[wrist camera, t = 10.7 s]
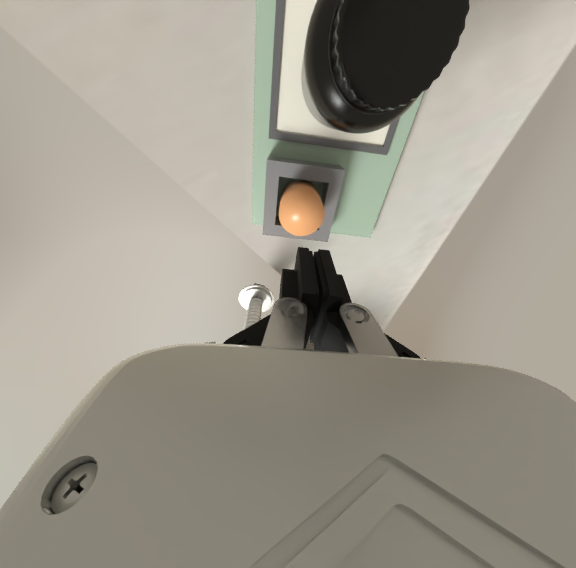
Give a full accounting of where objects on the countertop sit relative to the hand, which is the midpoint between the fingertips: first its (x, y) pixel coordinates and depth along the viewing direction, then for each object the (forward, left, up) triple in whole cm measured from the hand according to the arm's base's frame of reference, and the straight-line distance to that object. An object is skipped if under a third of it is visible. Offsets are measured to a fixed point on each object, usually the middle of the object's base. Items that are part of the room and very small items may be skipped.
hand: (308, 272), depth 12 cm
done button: (0, 0, -13) cm, 13 cm away
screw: (+14, -4, -15) cm, 21 cm away
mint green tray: (-7, +2, -15) cm, 17 cm away
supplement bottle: (-10, +2, -14) cm, 17 cm away
